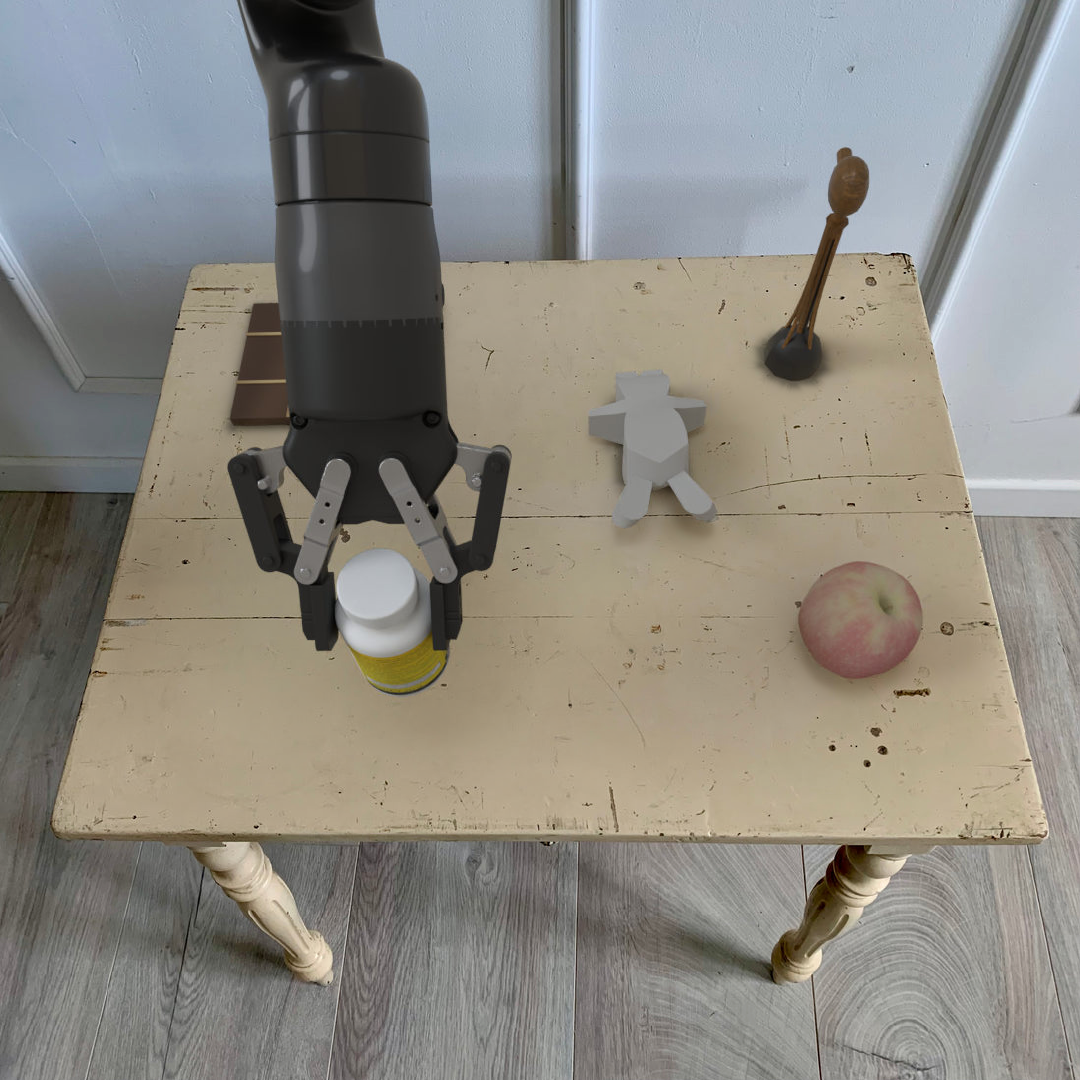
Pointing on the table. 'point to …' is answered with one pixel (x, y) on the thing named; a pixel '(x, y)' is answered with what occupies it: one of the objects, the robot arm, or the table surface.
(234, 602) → the table surface
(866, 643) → the apple
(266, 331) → the board
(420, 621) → the supplement bottle
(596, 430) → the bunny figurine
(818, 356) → the wooden tabletop sculpture
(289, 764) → the table surface
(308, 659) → the table surface
